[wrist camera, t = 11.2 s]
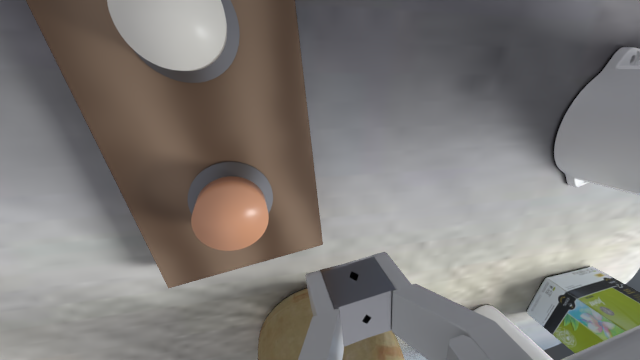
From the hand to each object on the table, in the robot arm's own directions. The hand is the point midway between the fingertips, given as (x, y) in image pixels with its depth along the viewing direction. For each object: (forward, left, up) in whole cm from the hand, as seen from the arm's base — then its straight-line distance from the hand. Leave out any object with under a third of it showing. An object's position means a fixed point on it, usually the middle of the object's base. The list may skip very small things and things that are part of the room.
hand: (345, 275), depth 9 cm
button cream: (+5, -10, -11) cm, 16 cm away
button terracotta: (+5, +2, -11) cm, 12 cm away
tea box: (-52, +40, -16) cm, 68 cm away
